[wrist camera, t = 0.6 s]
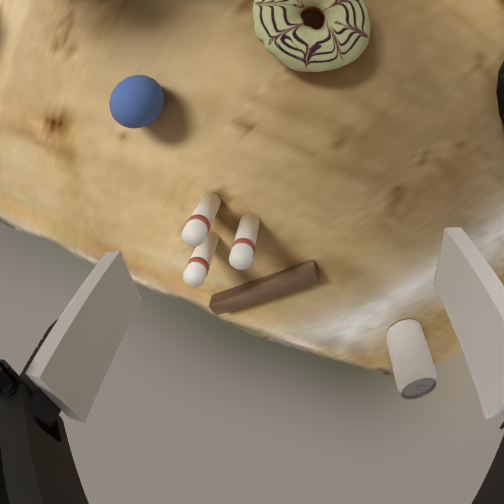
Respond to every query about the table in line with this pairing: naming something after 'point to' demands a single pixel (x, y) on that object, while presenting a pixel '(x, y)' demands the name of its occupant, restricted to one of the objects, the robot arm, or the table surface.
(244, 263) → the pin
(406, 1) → the table surface
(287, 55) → the decorated donut
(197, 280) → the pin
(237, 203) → the table surface
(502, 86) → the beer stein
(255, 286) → the rail
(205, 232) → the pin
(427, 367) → the can
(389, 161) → the table surface
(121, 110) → the ball
